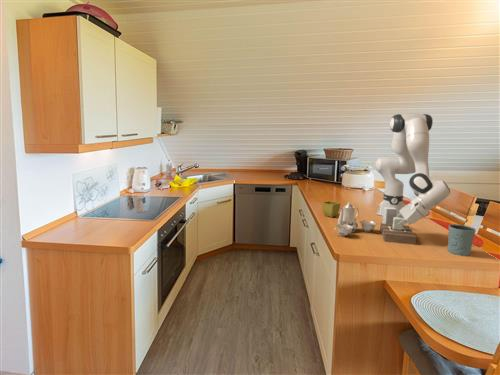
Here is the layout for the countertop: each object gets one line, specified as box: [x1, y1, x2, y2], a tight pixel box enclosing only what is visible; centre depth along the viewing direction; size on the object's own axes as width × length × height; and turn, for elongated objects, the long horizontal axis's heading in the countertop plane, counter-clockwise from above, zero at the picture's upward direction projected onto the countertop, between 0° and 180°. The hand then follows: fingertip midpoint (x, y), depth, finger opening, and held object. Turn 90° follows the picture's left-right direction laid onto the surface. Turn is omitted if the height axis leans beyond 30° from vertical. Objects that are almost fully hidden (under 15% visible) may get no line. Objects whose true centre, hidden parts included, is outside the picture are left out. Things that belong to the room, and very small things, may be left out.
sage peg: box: [392, 217, 404, 231], centre depth 164 cm, size 4×4×10 cm
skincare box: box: [381, 207, 397, 224], centre depth 178 cm, size 6×4×12 cm
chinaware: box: [333, 201, 378, 237], centre depth 170 cm, size 28×17×17 cm, turn 123°
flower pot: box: [321, 200, 341, 218], centre depth 204 cm, size 9×9×9 cm
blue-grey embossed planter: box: [447, 223, 476, 257], centre depth 142 cm, size 10×10×12 cm
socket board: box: [379, 222, 417, 245], centre depth 164 cm, size 20×14×4 cm
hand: (396, 223), depth 163 cm, fingers open, 8 cm apart
